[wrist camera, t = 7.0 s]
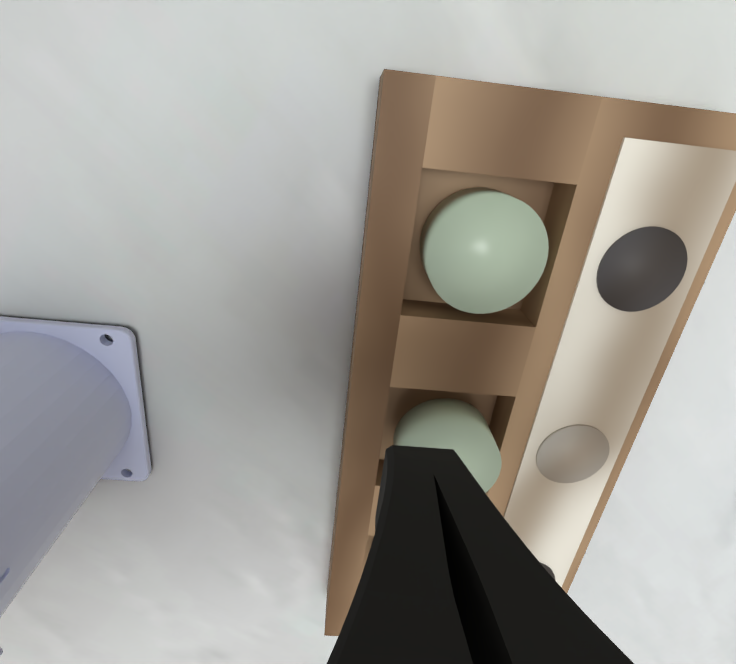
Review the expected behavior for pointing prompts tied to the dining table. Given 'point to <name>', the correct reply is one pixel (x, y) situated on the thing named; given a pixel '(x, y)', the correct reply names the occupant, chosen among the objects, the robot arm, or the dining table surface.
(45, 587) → the dining table surface
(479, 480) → the button middle
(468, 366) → the board
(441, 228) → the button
